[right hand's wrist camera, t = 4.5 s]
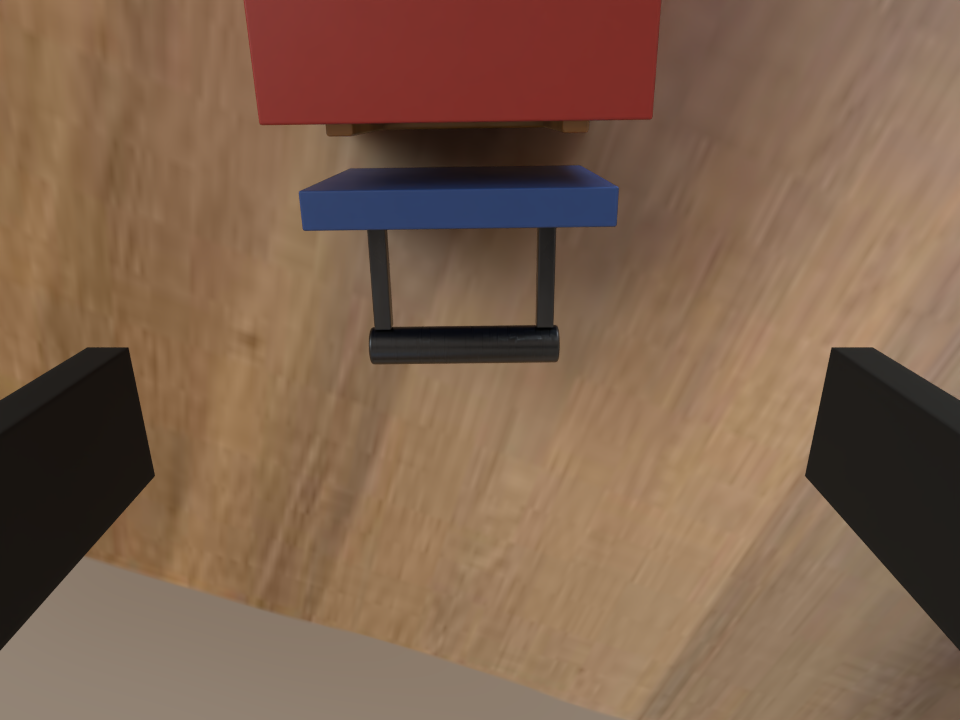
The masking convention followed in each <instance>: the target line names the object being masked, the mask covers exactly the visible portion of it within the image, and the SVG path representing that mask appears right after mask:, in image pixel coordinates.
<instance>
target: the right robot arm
mask: <svg viewBox="0 0 960 720" xmlns="http://www.w3.org/2000/svg"><path fill="white" fill-rule="evenodd" d="M154 476H155V474H154V469H153V464H152V459H151V454H150V450H149V445H148V440H147V435H146V430H145V426H144V421H143V416H142V411H141V406H140V401H139V397H138V392H137V387H136V382H135V377H134V372H133V368H132V363H131V358H130V353H129V348H86V349H84V350H82V351H81V352H79V353H77V354H76V355H74V356H73V357H71V358H69V359H68V360H66V361H64V362H63V363H61V364H59V365H58V366H56V367H54V368H53V369H51V370H50V371H48V372H46V373H45V374H43V375H41V376H40V377H38V378H36V379H35V380H33V381H31V382H30V383H28V384H26V385H25V386H23V387H22V388H20V389H18V390H17V391H15V392H13V393H12V394H10V395H8V396H7V397H5V398H3V399H2V400H0V650H1V649H2V648H3V647H4V646H5V645H6V643H7V642H8V641H9V640H10V639H11V638H12V637H13V636H14V634H15V633H16V632H17V631H18V630H19V629H20V628H21V627H22V625H23V624H24V623H25V622H26V621H27V620H28V619H29V618H30V616H31V615H32V614H33V613H34V612H35V611H36V610H37V608H38V607H39V606H40V605H41V604H42V603H43V602H44V601H45V599H46V598H47V597H48V596H49V595H50V594H51V593H52V591H53V590H54V589H55V588H56V587H57V586H58V585H59V584H60V582H61V581H62V580H63V579H64V578H65V577H66V576H67V575H68V573H69V572H70V571H71V570H72V569H73V568H74V567H75V566H76V564H77V563H78V562H79V561H80V560H81V559H82V558H83V557H84V555H85V554H86V553H87V552H88V551H89V550H90V549H91V547H92V546H93V545H94V544H95V543H96V542H97V541H98V540H99V538H100V537H101V536H102V535H103V534H104V533H105V532H106V531H107V529H108V528H109V527H110V526H111V525H112V524H113V523H114V522H115V520H116V519H117V518H118V517H119V516H120V515H121V514H122V512H123V511H124V510H125V509H126V508H127V507H128V506H129V505H130V503H131V502H132V501H133V500H134V499H135V498H136V497H137V496H138V494H139V493H140V492H141V491H142V490H143V489H144V488H145V487H146V485H147V484H148V483H149V482H150V481H151V480H152V479H153V477H154ZM805 476H806V477H807V479H808V480H809V481H810V482H811V483H812V484H813V485H814V487H815V488H816V489H817V490H818V491H819V492H820V493H821V494H822V496H823V497H824V498H825V499H826V500H827V501H828V502H829V503H830V505H831V506H832V507H833V508H834V509H835V510H836V511H837V512H838V514H839V515H840V516H841V517H842V518H843V519H844V520H845V522H846V523H847V524H848V525H849V526H850V527H851V528H852V529H853V531H854V532H855V533H856V534H857V535H858V536H859V537H860V538H861V540H862V541H863V542H864V543H865V544H866V545H867V546H868V547H869V549H870V550H871V551H872V552H873V553H874V554H875V555H876V557H877V558H878V559H879V560H880V561H881V562H882V563H883V564H884V566H885V567H886V568H887V569H888V570H889V571H890V572H891V573H892V575H893V576H894V577H895V578H896V579H897V580H898V581H899V582H900V584H901V585H902V586H903V587H904V588H905V589H906V590H907V592H908V593H909V594H910V595H911V596H912V597H913V598H914V599H915V601H916V602H917V603H918V604H919V605H920V606H921V607H922V608H923V610H924V611H925V612H926V613H927V614H928V615H929V616H930V618H931V619H932V620H933V621H934V622H935V623H936V624H937V625H938V627H939V628H940V629H941V630H942V631H943V632H944V633H945V634H946V636H947V637H948V638H949V639H950V640H951V641H952V642H953V643H954V645H955V646H956V647H957V648H958V649H959V650H960V400H958V399H957V398H955V397H953V396H952V395H950V394H948V393H947V392H945V391H943V390H942V389H940V388H938V387H937V386H935V385H934V384H932V383H930V382H929V381H927V380H925V379H924V378H922V377H920V376H919V375H917V374H915V373H914V372H912V371H910V370H909V369H907V368H906V367H904V366H902V365H901V364H899V363H897V362H896V361H894V360H892V359H891V358H889V357H887V356H886V355H884V354H883V353H881V352H879V351H878V350H876V349H874V348H831V353H830V358H829V363H828V368H827V372H826V377H825V382H824V387H823V392H822V397H821V401H820V406H819V411H818V416H817V421H816V425H815V430H814V435H813V440H812V445H811V450H810V454H809V459H808V464H807V469H806V474H805Z"/></svg>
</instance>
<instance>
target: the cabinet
mask: <svg viewBox="0 0 960 720" xmlns="http://www.w3.org/2000/svg"><path fill="white" fill-rule="evenodd" d="M244 6H245V14H246V22H247V30H248V37H249V45H250V53H251V61H252V69H253V77H254V85H255V92H256V100H257V108H258V116H259V123H260V125H308V124H377V123H446V122H515V121H584V120H650V119H652V116H653V103H654V90H655V77H656V64H657V50H658V37H659V24H660V11H661V0H244Z"/></svg>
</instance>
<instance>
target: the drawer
mask: <svg viewBox="0 0 960 720" xmlns="http://www.w3.org/2000/svg"><path fill="white" fill-rule="evenodd" d="M538 127H546V128H549V129H553V130H556V131H560V132H563V133H586V132H588V130H589V120H584V121H515V122H446V123H377V124H326V133H327V136H354V135H359V134H364V133H369V132H374V131H379V130H400V129H469V128H538ZM618 194H619V188H618V187H617V186H616V185H614V184H612V183H610V182H609V181H607V180H605V179H603V178H602V177H600V176H598V175H596V174H595V173H593V172H591V171H589V170H587V169H586V168H584V167H582V166H580V165H572V166H501V167H429V168H358V169H348V170H346V171H344V172H341V173H339V174H337V175H335V176H333V177H330V178H328V179H326V180H324V181H321V182H319V183H317V184H315V185H312V186H310V187H308V188H306V189H304V190H301V191H299V199H300V208H301V217H302V226H303V230H304V231H323V230H367V233H368V246H369V259H370V273H371V286H372V299H373V312H374V326H375V327H373V328H371V330H370V335H369V355H370V360H371V362H372V364H447V363H533V362H557V361H558V359H559V348H560V342H559V330H558V327H557V326H556V325H553V322H554V286H555V251H556V227H615V226H616V225H617V210H618ZM474 228H537V273H536V325H514V326H432V327H392V326H393V314H392V298H391V283H390V267H389V252H388V236H387V230H399V229H474Z"/></svg>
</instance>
